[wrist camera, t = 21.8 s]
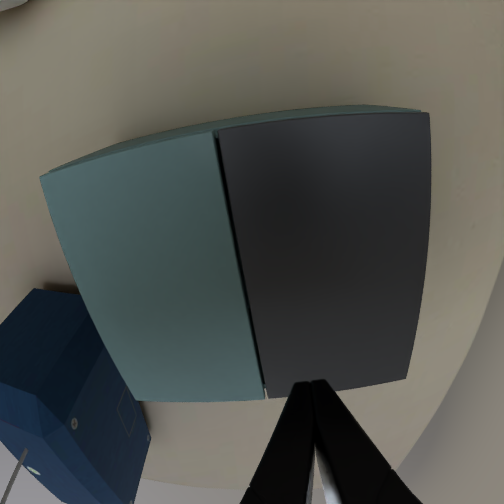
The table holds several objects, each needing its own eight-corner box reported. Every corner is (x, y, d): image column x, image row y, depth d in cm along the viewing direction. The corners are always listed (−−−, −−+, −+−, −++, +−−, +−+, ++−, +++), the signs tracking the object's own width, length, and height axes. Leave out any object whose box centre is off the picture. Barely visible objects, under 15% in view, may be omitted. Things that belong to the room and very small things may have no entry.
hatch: (424, 112, 9) (429, 112, 9) (404, 373, 15) (406, 379, 15) (218, 129, 10) (216, 130, 10) (268, 393, 16) (268, 398, 15)
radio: (30, 277, 23) (-109, 456, 5) (117, 288, 23) (-16, 541, 5) (91, 423, 32) (41, 558, 14) (157, 438, 32) (122, 590, 14)
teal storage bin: (364, 104, 16) (431, 111, 9) (370, 294, 22) (407, 379, 15) (117, 143, 18) (37, 176, 11) (167, 316, 23) (134, 401, 16)
